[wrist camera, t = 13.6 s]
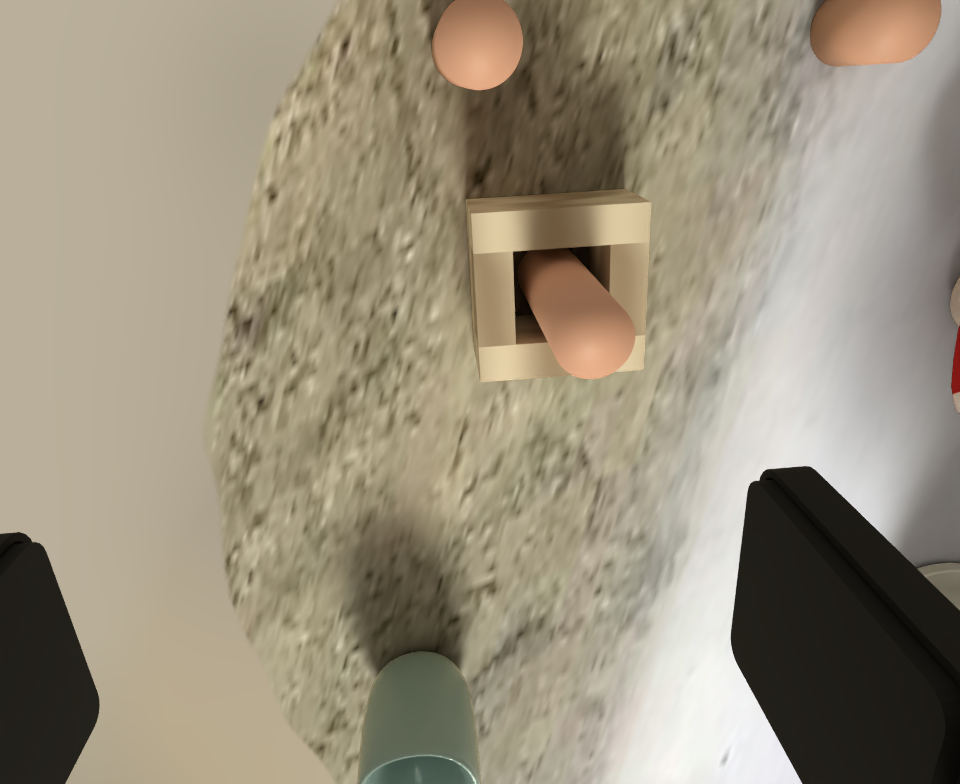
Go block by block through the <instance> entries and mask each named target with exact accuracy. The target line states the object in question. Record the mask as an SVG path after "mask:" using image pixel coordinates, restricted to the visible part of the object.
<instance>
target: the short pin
mask: <svg viewBox="0 0 960 784" xmlns="http://www.w3.org/2000/svg"><path fill="white" fill-rule="evenodd" d="M940 17H941V1H940V0H826V1H825V2H824V3H823V4H822V5H821V6H820V8H819V9H818V11H817V12H816V14H815V16H814V19H813V21H812V25H811V30H810V42H811V46H812V49H813V52H814V54H815V55H816V57H817V58H818V59H819V60H820V61H822V62H823V63H825V64H827V65H830V66H852V65H869V64H886V63H899V62H903V61H906V60H909V59H911V58H913V57H915V56H916V55H917V54H919V53H920V52H921V51H922V50H923V49H924V48H925V47H926V46H927V45H928V44H929V42H930V41H931V40H932V38H933V36H934V35H935V33H936V30H937V28H938V25H939V22H940Z"/></svg>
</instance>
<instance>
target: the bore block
mask: <svg viewBox="0 0 960 784" xmlns="http://www.w3.org/2000/svg"><path fill="white" fill-rule="evenodd" d="M466 215H467V232H468V249H469V266H470V283H471V300H472V317H473V334H474V351H475V356H476V361H477V366H478V372H479V377H480V382H490V381H503V380H516V379H529V378H542V377H555V376H568V375H572V374H570V373H568V372H567V371H565V370H564V369H563V368H562V367H561V366H560V364H559V363H558V361H557V360H556V358H555V356H554V354H553V352H552V350H551V348H550V346H549V343H548V341H547V339H546V337H545V335H544V333H543V331H542V329H541V327H540V325H539V323H538V321H537V319H536V317H535V315H526V316H515V301H514V271H513V251H527V250H542V249H556V248H571V247H586V246H589V272H590V273H591V274H592V275H593V276H594V277H595V278H596V279H597V280H598V281H599V283H600V284H601V285H602V286H603V287H604V288H605V289H606V290H607V291H608V292H609V294H610V295H611V296H612V297H613V298H614V299H615V300H616V301H617V302H618V303H619V304H620V306H621V307H622V308H623V309H624V310H625V311H626V312H627V313H628V315H629V316H630V318H631V320H632V322H633V325H634V328H635V343H634V347H633V350H632V353H631V354H630V356H629V358H628V359H627V361H626V362H625V363H624V364H623V365H622V366H621V367H620V368H619V369H618V370H616V371H615V372H620V371H634V370H644V352H645V330H646V307H647V285H648V263H649V240H650V218H651V202H650V201H648V200H646V199H644V198H642V197H640V196H638V195H636V194H634V193H632V192H630V191H628V190H626V189H617V190H601V191H586V192H570V193H554V194H539V195H523V196H508V197H492V198H477V199H466Z"/></svg>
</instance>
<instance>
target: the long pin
mask: <svg viewBox="0 0 960 784" xmlns="http://www.w3.org/2000/svg"><path fill="white" fill-rule="evenodd" d="M518 280H519V284H520V287H521V289H522V291H523V293H524V295H525V297H526V299H527V301H528V303H529V305H530V307H531V309H532V311H533V313H534V315H535V317H536V319H537V321H538V323H539V325H540V327H541V329H542V331H543V333H544V335H545V337H546V339H547V341H548V343H549V346H550V348H551V350H552V352H553V354H554V356H555V358H556V360H557V361H558V363H559V364H560V366H561V367H562V368H563V369H564V370H565V371H567V372H568V373H570V374H572V375H573V376H576V377H579V378H583V379H596V378H601V377H605V376H607V375H610V374H611V373H613V372H615V371H616V370H618V369H619V368H620V367H621V366H622V365H623V364H624V363H625V362H626V361H627V359H628V358H629V356H630V354H631V353H632V350H633V347H634V343H635V328H634V325H633V322H632V320H631V318H630V316H629V315H628V313H627V312H626V311H625V310H624V309H623V308H622V307H621V306H620V304H619V303H618V302H617V301H616V300H615V299H614V298H613V297H612V296H611V295H610V294H609V292H608V291H607V290H606V289H605V288H604V287H603V286H602V285H601V284H600V283H599V281H598V280H597V279H596V278H595V277H594V276H593V275H592V274H591V273H590V272H589V270H588V269H587V268H586V267H585V266H584V265H583V264H582V263H581V262H580V261H579V259H578V258H577V257H576V256H575V255H574V254H573V253H572V252H571V251H570V250H569V249H568V248H556V249H542V250H529V251H528V252H527V253H526V254H525V255H524V256H523V258H522V260H521V262H520V264H519V268H518Z"/></svg>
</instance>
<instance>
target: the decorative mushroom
mask: <svg viewBox="0 0 960 784" xmlns="http://www.w3.org/2000/svg"><path fill="white" fill-rule="evenodd" d="M950 308H951V314H952V317H953V319H954V321H955V323H956V324H957V325H958V326H959V328H958V334H957V340H956V346H955V352H954V359H953V371H952V383H951V388H952V394H953V398H954V402H955V406H956V410H957V411H958V412H959V413H960V277H959V279H958V280H957V282H956V284H955V286H954V289H953V291H952V294H951V301H950Z"/></svg>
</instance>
